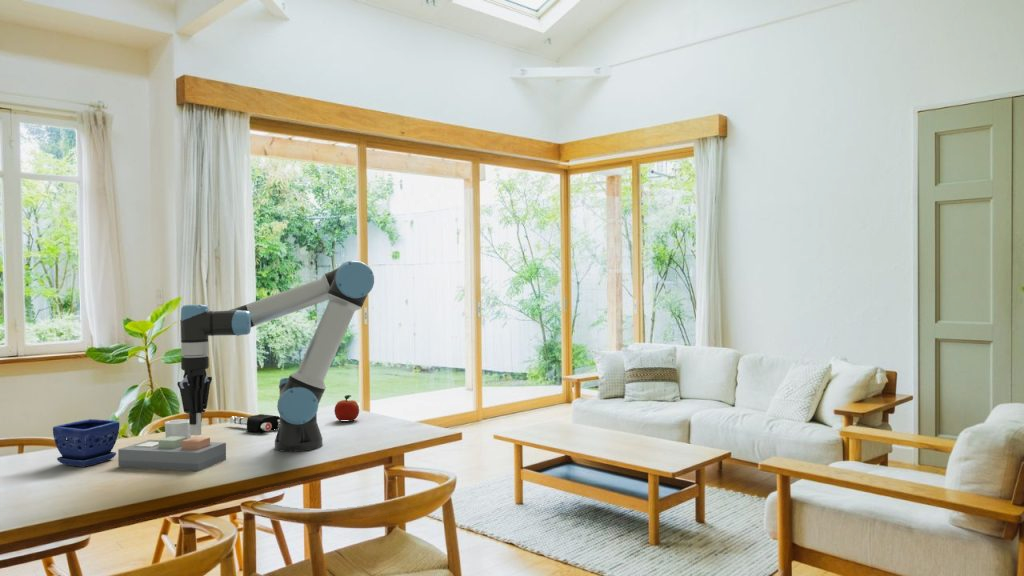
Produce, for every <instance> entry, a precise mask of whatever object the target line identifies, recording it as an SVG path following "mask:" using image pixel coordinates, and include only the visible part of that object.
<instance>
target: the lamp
mask: <svg viewBox="0 0 1024 576" xmlns="http://www.w3.org/2000/svg"><path fill="white" fill-rule="evenodd" d="M228 420H229V422H230V424H234V425H240V426H246V430H247V432H251V433H259V434H264V433H263V432H265V433H267V432H266V431H269V432H271V431H270V430H273V431H275V430H274V429H277V428H279V426H280V415H279V416H278V415H271V414H263V413H261V414H255V415H250V416H248V417H244V416H243V417H242V416H231V417H230V418H229V419H228ZM277 430H278V429H277Z"/></svg>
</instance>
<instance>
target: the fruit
mask: <svg viewBox="0 0 1024 576" xmlns="http://www.w3.org/2000/svg"><path fill="white" fill-rule="evenodd" d="M351 397H352V395H350V394H347V395H345V396H344V399H343V400H339V401H337V403H336V404H335V406H334V415H335V418H336V419H337V420H338V421H340V420H353V421H354V419H355V420H356V419H357V418H358V417H359V413H360V407H359V404H358V402H357V401H356V400H353V399H352V400H351V399H350V398H351ZM348 399H350V400H348Z"/></svg>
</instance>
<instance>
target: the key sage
mask: <svg viewBox="0 0 1024 576" xmlns="http://www.w3.org/2000/svg"><path fill="white" fill-rule="evenodd" d="M158 440H159V448H167V449H176V448H179V447H182V441H183V440H187V437H181V436H170V437H167V438H166V437H164V438H161V439H158Z"/></svg>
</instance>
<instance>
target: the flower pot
mask: <svg viewBox="0 0 1024 576" xmlns="http://www.w3.org/2000/svg"><path fill="white" fill-rule="evenodd" d="M119 431H120V422H119V421H116V420H108V419H96V418H95V419H93V418H90V419H89V418H88V419H84V420H79V421H73V422H69V423H64V424H59V425H58V424H57V425H56V426H53V427H52V435H53V440H54V442H55V446H56V448H57V450H58V452H59V454H61V456H59V457H57V458H56V460H57V461H58V462H59V463H60V464H62V465H65V464H66V466H73V467H74V466H76V467H83V468H86V467H88V466H92V465H97V464H100V463H104V462H107V461H111V460H112V459H113V458H114V457H115V456H116V455H117V452H116V451H115V452H114V451H112V450H113V449H114V447H115V445H116V442H117V440H118V436H119ZM96 463H97V464H96ZM85 466H86V467H85Z"/></svg>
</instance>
